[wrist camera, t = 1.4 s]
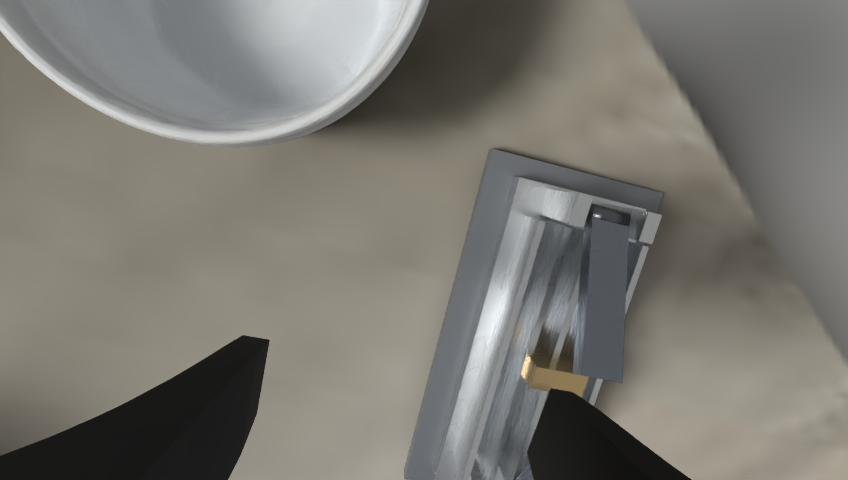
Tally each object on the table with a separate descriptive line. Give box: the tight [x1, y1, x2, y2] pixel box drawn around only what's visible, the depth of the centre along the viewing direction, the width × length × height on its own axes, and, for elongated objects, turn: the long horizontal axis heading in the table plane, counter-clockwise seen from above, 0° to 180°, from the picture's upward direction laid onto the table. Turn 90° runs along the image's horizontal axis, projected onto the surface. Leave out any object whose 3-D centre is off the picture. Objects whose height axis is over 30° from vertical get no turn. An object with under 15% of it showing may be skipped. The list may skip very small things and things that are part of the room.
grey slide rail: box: [432, 176, 662, 480], centre depth 19 cm, size 16×6×4 cm, turn 166°
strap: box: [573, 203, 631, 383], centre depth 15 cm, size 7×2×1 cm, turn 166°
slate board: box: [404, 149, 663, 480], centre depth 21 cm, size 18×9×1 cm, turn 166°
